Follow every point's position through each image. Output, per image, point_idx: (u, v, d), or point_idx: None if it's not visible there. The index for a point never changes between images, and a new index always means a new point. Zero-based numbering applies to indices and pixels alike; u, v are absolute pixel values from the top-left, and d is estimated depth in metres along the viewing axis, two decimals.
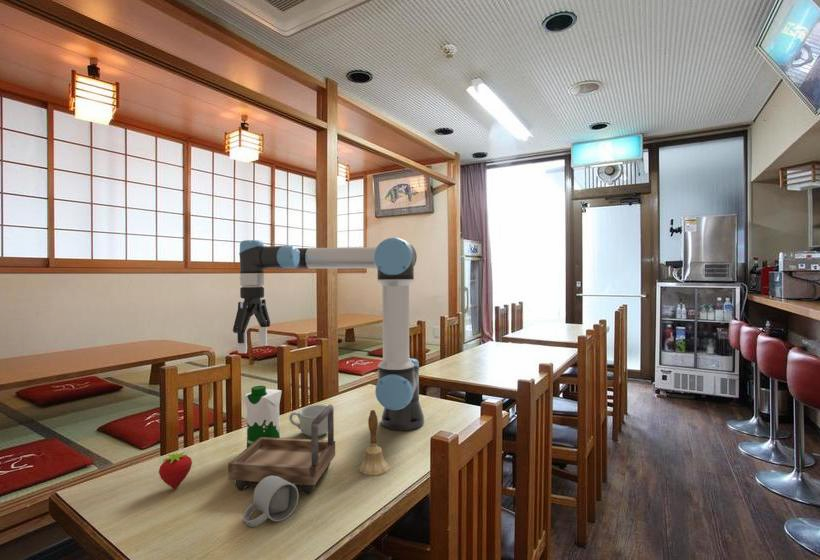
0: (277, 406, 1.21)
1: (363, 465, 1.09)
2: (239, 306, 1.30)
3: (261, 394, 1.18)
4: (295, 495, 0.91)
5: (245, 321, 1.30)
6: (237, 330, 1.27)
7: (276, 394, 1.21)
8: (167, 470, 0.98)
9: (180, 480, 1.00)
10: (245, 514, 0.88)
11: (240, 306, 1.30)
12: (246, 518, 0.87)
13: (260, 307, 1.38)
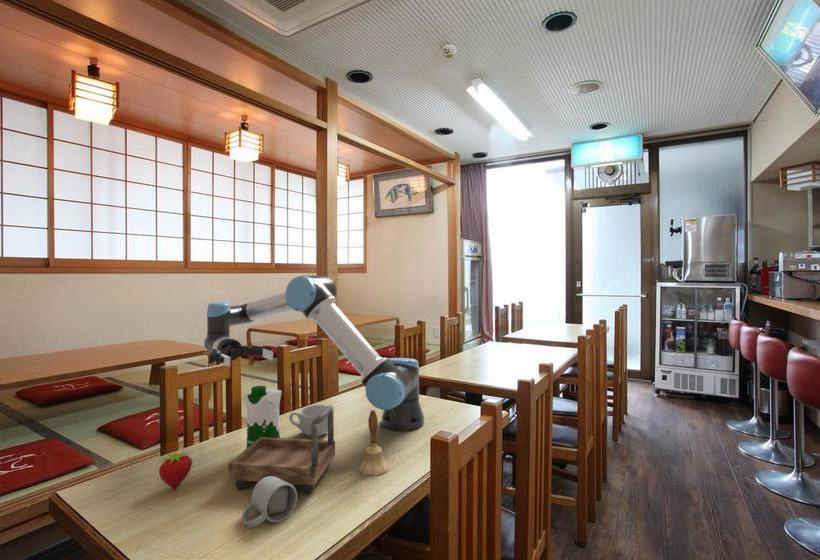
0: (277, 406, 1.21)
1: (363, 465, 1.09)
2: None
3: (261, 394, 1.18)
4: (293, 496, 0.91)
5: None
6: (209, 358, 1.27)
7: (276, 394, 1.21)
8: (167, 470, 0.98)
9: (180, 480, 1.00)
10: (243, 515, 0.87)
11: None
12: (244, 519, 0.86)
13: (241, 346, 1.39)
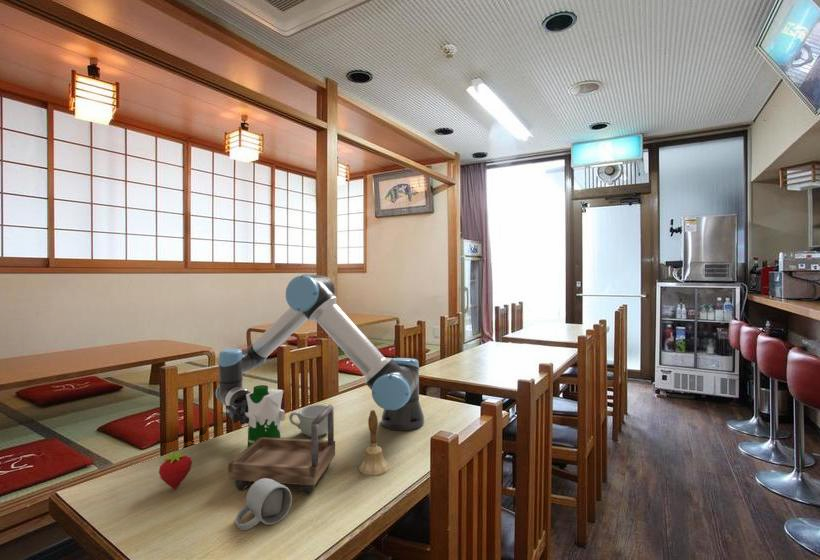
0: (279, 406, 1.21)
1: (363, 465, 1.09)
2: (227, 413, 1.24)
3: (263, 393, 1.18)
4: (288, 498, 0.90)
5: (240, 411, 1.22)
6: (233, 417, 1.18)
7: (278, 394, 1.21)
8: (167, 470, 0.98)
9: (180, 480, 1.00)
10: (237, 517, 0.86)
11: (227, 412, 1.24)
12: (238, 521, 0.85)
13: None
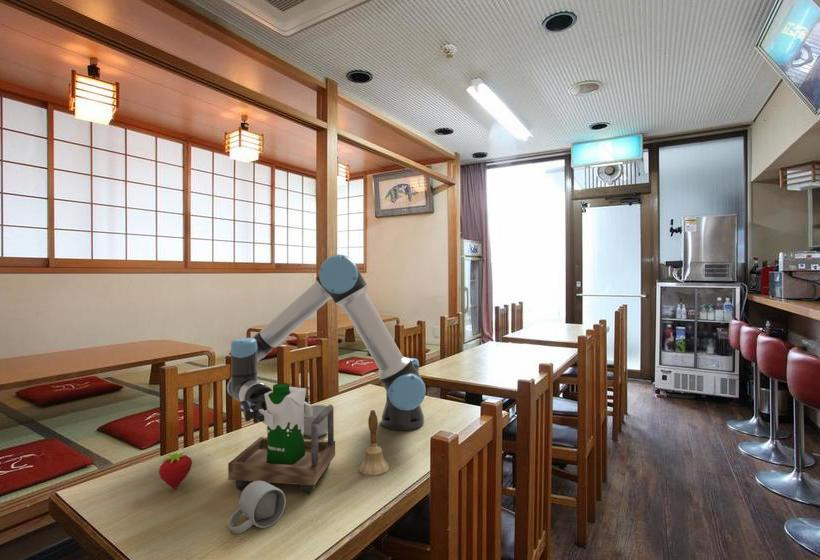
0: (302, 406, 1.05)
1: (363, 465, 1.09)
2: (242, 409, 1.09)
3: (284, 393, 1.02)
4: (282, 501, 0.89)
5: None
6: (246, 415, 1.02)
7: (301, 393, 1.05)
8: (167, 470, 0.98)
9: (180, 480, 1.00)
10: (230, 520, 0.85)
11: (242, 408, 1.09)
12: (231, 524, 0.84)
13: None
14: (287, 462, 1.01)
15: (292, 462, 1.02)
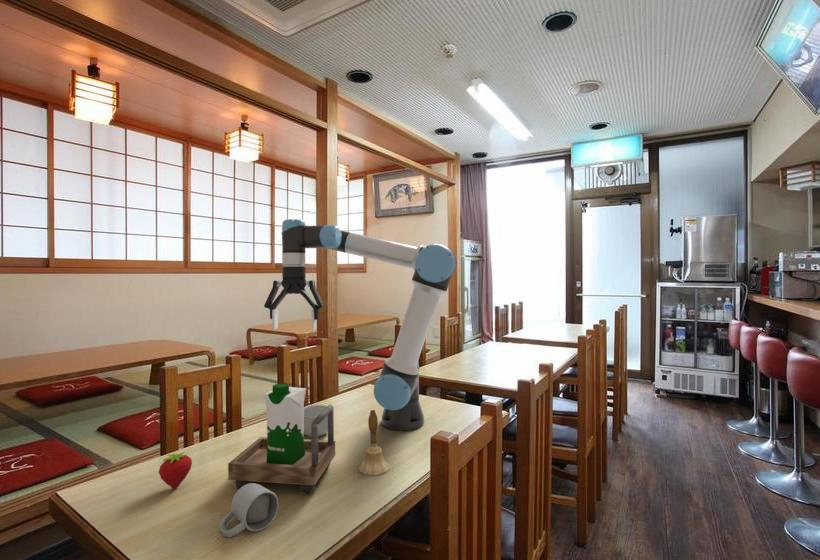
0: (302, 406, 1.05)
1: (363, 465, 1.09)
2: None
3: (284, 393, 1.02)
4: (275, 504, 0.88)
5: None
6: None
7: (300, 393, 1.05)
8: (167, 470, 0.98)
9: (180, 480, 1.00)
10: (222, 524, 0.84)
11: None
12: (223, 528, 0.83)
13: (298, 288, 1.34)
14: (287, 462, 1.01)
15: (292, 462, 1.02)
